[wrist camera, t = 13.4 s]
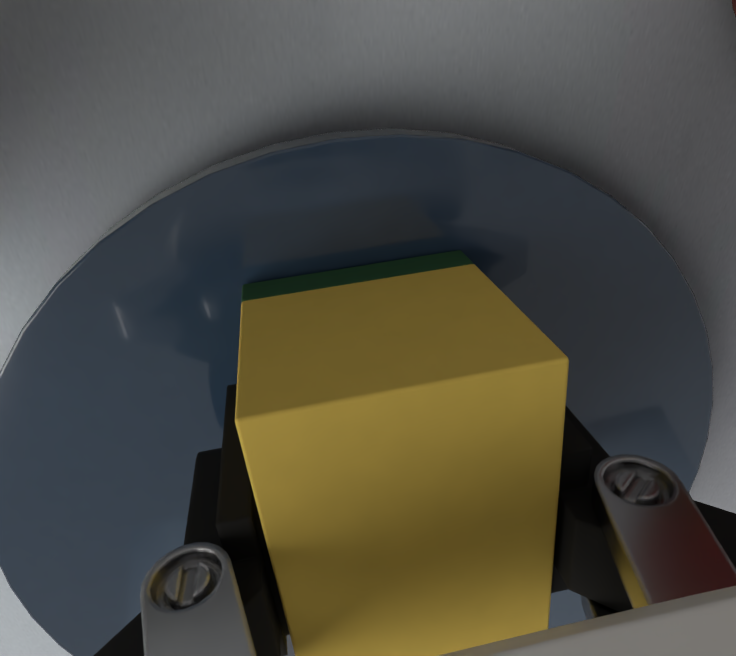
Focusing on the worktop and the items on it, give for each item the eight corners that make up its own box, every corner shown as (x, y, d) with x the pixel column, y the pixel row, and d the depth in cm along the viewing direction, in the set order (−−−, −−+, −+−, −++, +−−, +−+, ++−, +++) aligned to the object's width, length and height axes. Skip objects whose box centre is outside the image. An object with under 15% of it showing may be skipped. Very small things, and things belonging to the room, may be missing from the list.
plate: (732, 72, 12) (789, 76, 11) (636, 607, 21) (662, 645, 19) (-155, 192, 10) (-215, 214, 9) (134, 730, 19) (125, 781, 17)
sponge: (241, 283, 11) (233, 420, 7) (460, 248, 11) (570, 357, 7) (298, 540, 14) (315, 733, 10) (466, 504, 15) (546, 675, 11)
